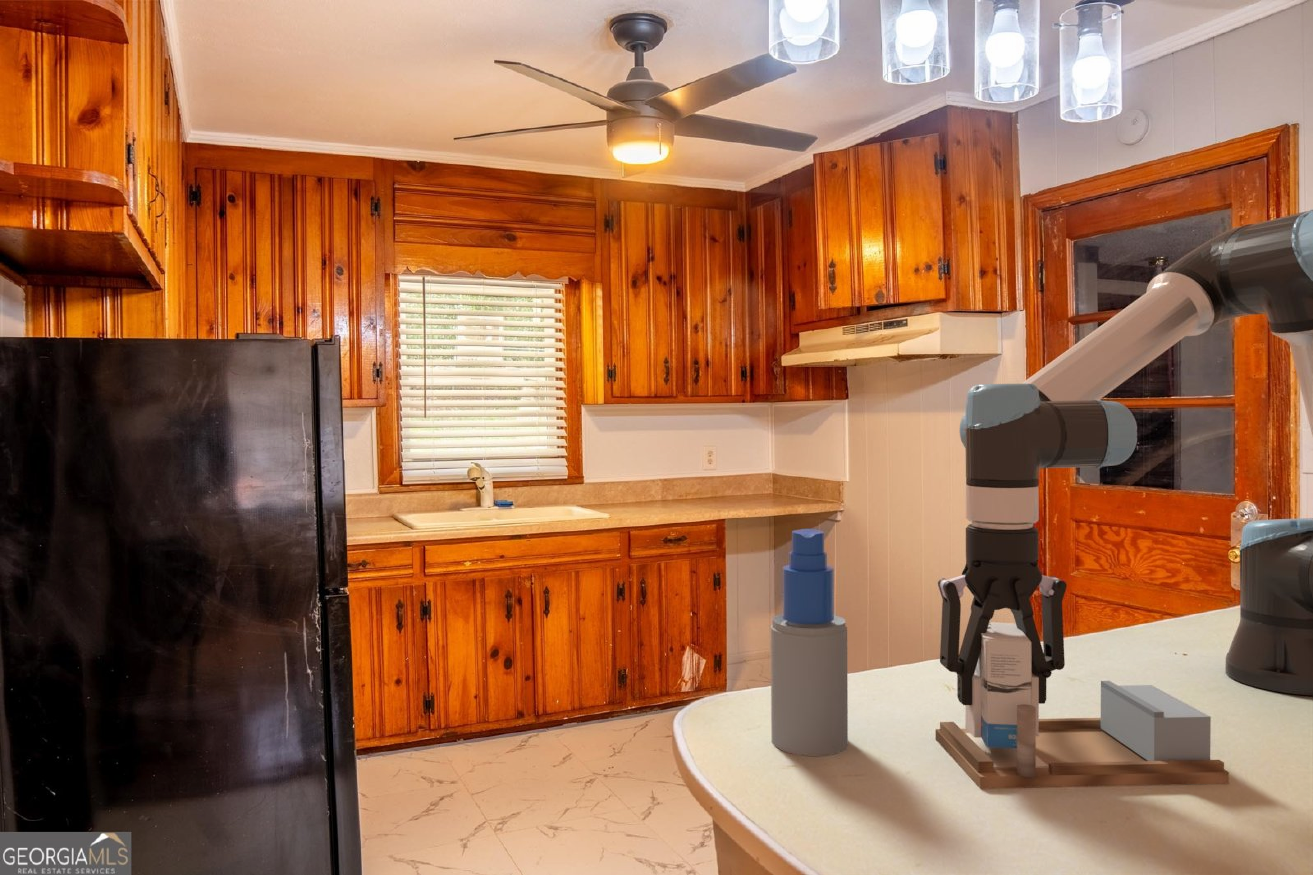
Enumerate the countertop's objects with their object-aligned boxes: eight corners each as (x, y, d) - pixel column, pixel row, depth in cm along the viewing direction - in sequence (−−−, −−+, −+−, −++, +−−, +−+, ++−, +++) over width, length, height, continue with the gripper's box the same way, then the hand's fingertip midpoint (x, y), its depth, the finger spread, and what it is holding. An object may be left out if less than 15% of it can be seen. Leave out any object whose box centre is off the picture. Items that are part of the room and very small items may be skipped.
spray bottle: (779, 725, 113) (778, 524, 113) (852, 732, 110) (851, 527, 110) (764, 750, 105) (762, 534, 104) (842, 760, 102) (841, 537, 101)
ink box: (1033, 751, 96) (1033, 640, 96) (984, 748, 97) (984, 638, 97) (1017, 723, 105) (1017, 621, 104) (972, 721, 106) (972, 620, 105)
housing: (1151, 727, 107) (1151, 679, 107) (1210, 763, 96) (1210, 711, 96) (1100, 728, 107) (1100, 680, 107) (1153, 764, 96) (1154, 712, 96)
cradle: (1150, 733, 109) (1150, 665, 109) (1231, 785, 94) (1231, 706, 94) (934, 737, 108) (934, 669, 108) (981, 790, 94) (981, 711, 93)
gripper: (1069, 518, 104) (1068, 719, 105) (907, 521, 104) (907, 722, 105) (1102, 527, 97) (1102, 743, 97) (928, 529, 96) (929, 746, 97)
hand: (1001, 732), depth 101 cm, fingers closed on ink box, 6 cm apart
